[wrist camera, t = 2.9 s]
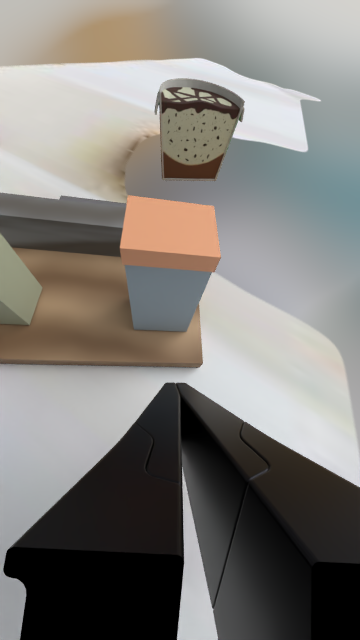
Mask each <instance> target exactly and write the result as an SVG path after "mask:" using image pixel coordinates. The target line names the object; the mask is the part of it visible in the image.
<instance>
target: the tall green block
mask: <svg viewBox="0 0 360 640" xmlns="http://www.w3.org/2000/svg"><path fill="white" fill-rule="evenodd" d="M42 288H43V287H42V286H41V285H40V284H39V282H38V281H37V280H36V278H35V277H34V276H33V275H32V273H31V272H30V271H29V269H28V268H27V267H26V265H25V264H24V263H23V262H22V260H21V259H20V258H19V256H18V255H17V254H16V252H15V251H14V250H13V249H12V247H11V246H10V245H9V243H8V242H7V241H6V240H5V238H4V237H3V236H2V234H1V233H0V324H18V325H30V323H31V320H32V317H33V314H34V311H35V308H36V305H37V302H38V299H39V297H40V294H41V291H42Z"/></svg>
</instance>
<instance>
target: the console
mask: <svg viewBox="0 0 360 640" xmlns="http://www.w3.org/2000/svg"><path fill="white" fill-rule="evenodd" d="M125 212H126V208H124V207H116V206H107V205H99V204H91V203H82V202H74V201H65V200H57V199H49V198H40V197H32V196H24V195H15V194H7V193H0V233H1V234H2V236H3V237H4V238H5V240H6V241H7V242H8V243H9V245H10V246H11V247H12V249H13V250H14V251H15V252H16V254H17V255H18V256H19V258H20V259H21V260H22V262H23V263H24V264H25V265H26V267H27V268H28V269H29V271H30V272H31V273H32V275H33V276H34V277H35V278H36V280H37V281H38V282H39V284H40V285H41V286H42V287H43V288H42V291H41V294H40V297H39V299H38V302H37V305H36V308H35V311H34V314H33V317H32V320H31V323H30V325H18V324H0V363H4V364H55V365H105V366H156V367H200V366H201V365H202V364H203V359H202V344H201V328H200V313H199V304H198V306H197V308H196V311H195V313H194V315H193V318H192V320H191V322H190V325H189V327H188V329H187V332H181V331H157V330H134V327H133V320H132V313H131V306H130V299H129V292H128V285H127V278H126V271H125V265H122V259H121V253H120V243H121V237H122V231H123V224H124V218H125Z"/></svg>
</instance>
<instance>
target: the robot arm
mask: <svg viewBox="0 0 360 640" xmlns="http://www.w3.org/2000/svg"><path fill="white" fill-rule="evenodd" d="M182 467H183V472H184V477H185V481H186V486H187V491H188V496H189V500H190V505H191V510H192V514H193V519H194V524H195V529H196V533H197V538H198V543H199V548H200V552H201V557H202V562H203V566H204V571H205V576H206V581H207V585H208V590H209V595H210V600H211V604H212V608H213V609H214V610H213V614H214V619H215V624H216V629H217V635H218V640H360V487H358V486H356V485H354V484H353V483H351V482H349V481H347V480H345V479H344V478H342V477H340V476H338V475H336V474H335V473H333V472H331V471H329V470H327V469H326V468H324V467H322V466H320V465H318V464H317V463H315V462H313V461H311V460H310V459H308V458H306V457H304V456H302V455H301V454H299V453H297V452H295V451H293V450H292V449H290V448H288V447H286V446H284V445H283V444H281V443H279V442H277V441H276V440H274V439H272V438H271V437H269V436H267V435H266V434H264V433H262V432H261V431H259V430H258V429H256V428H254V427H253V426H251V425H250V424H248V423H247V422H244V421H243V420H241V419H240V418H238V417H237V416H235V415H234V414H232V413H231V412H229V411H228V410H226V409H225V408H223V407H221V406H220V405H218V404H217V403H215V402H214V401H212V400H211V399H209V398H208V397H206V396H205V395H203V394H202V393H200V392H199V391H197V390H195V389H194V388H192V387H191V386H189V385H188V384H186V383H176V384H175V383H165V384H164V386H163V387H162V388H161V390H160V391H159V392H158V393H157V395H156V396H155V397H154V399H153V400H152V401H151V402H150V404H149V405H148V406H147V408H146V409H145V410H144V411H143V413H142V414H141V415H140V417H139V418H138V419H137V420H136V422H135V423H134V424H133V425H132V426H131V428H130V429H129V430H128V431H127V433H126V434H125V435H124V436H123V437H122V438H121V440H120V441H119V442H118V443H117V444H116V445H115V446H114V447H113V448H112V449H111V450H110V451H109V452H108V453H107V454H106V455H105V456H104V457H103V458H102V459H101V460H100V461H99V462H98V463H97V464H96V465H95V466H94V467H93V468H92V469H91V470H90V471H89V472H88V473H86V474H85V475H84V476H83V477H82V478H81V479H80V480H79V481H78V482H77V483H76V484H75V485H74V486H73V487H72V488H71V489H70V490H69V491H68V492H67V493H66V494H65V495H64V496H63V497H62V498H61V499H60V500H59V501H58V502H57V503H56V504H55V505H54V506H52V507H51V508H50V509H49V510H48V511H47V512H46V513H45V514H44V515H43V516H42V517H41V518H40V519H39V520H38V521H37V522H36V523H35V524H34V525H33V526H32V527H31V528H30V529H29V530H28V531H27V532H26V533H25V534H24V535H23V536H22V537H21V538H20V539H18V540H17V541H16V542H15V543H14V544H13V545H12V546H11V547H10V548H9V549H8V550H7V553H6V558H5V563H4V568H3V569H4V573H5V575H6V576H8V577H11V578H16V579H18V580H20V581H21V582H22V583H23V584H24V586H25V588H26V602H25V609H24V616H23V623H22V630H21V637H20V640H177V631H178V621H179V610H180V600H181V589H182V579H183V568H184V540H183V492H182Z"/></svg>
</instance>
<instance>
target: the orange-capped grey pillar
mask: <svg viewBox="0 0 360 640" xmlns="http://www.w3.org/2000/svg"><path fill="white" fill-rule="evenodd" d="M120 253H121V259H122V265H125V271H126V278H127V285H128V292H129V299H130V306H131V313H132V320H133V327H134V330H157V331H181V332H187V329H188V327H189V325H190V322H191V320H192V318H193V315H194V313H195V311H196V308H197V306H198V304H199V301H200V299H201V297H202V294H203V292H204V289H205V287H206V285H207V282H208V280H209V278H210V275H211V273H212V272H215V270H216V267H217V265H218V263H219V261H220V258H221V255H220V248H219V241H218V233H217V226H216V219H215V211H214V206H208V205H200V204H192V203H184V202H177V201H169V200H161V199H153V198H144V197H137V196H129V195H128V199H127V205H126V212H125V218H124V224H123V231H122V237H121V243H120Z"/></svg>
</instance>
